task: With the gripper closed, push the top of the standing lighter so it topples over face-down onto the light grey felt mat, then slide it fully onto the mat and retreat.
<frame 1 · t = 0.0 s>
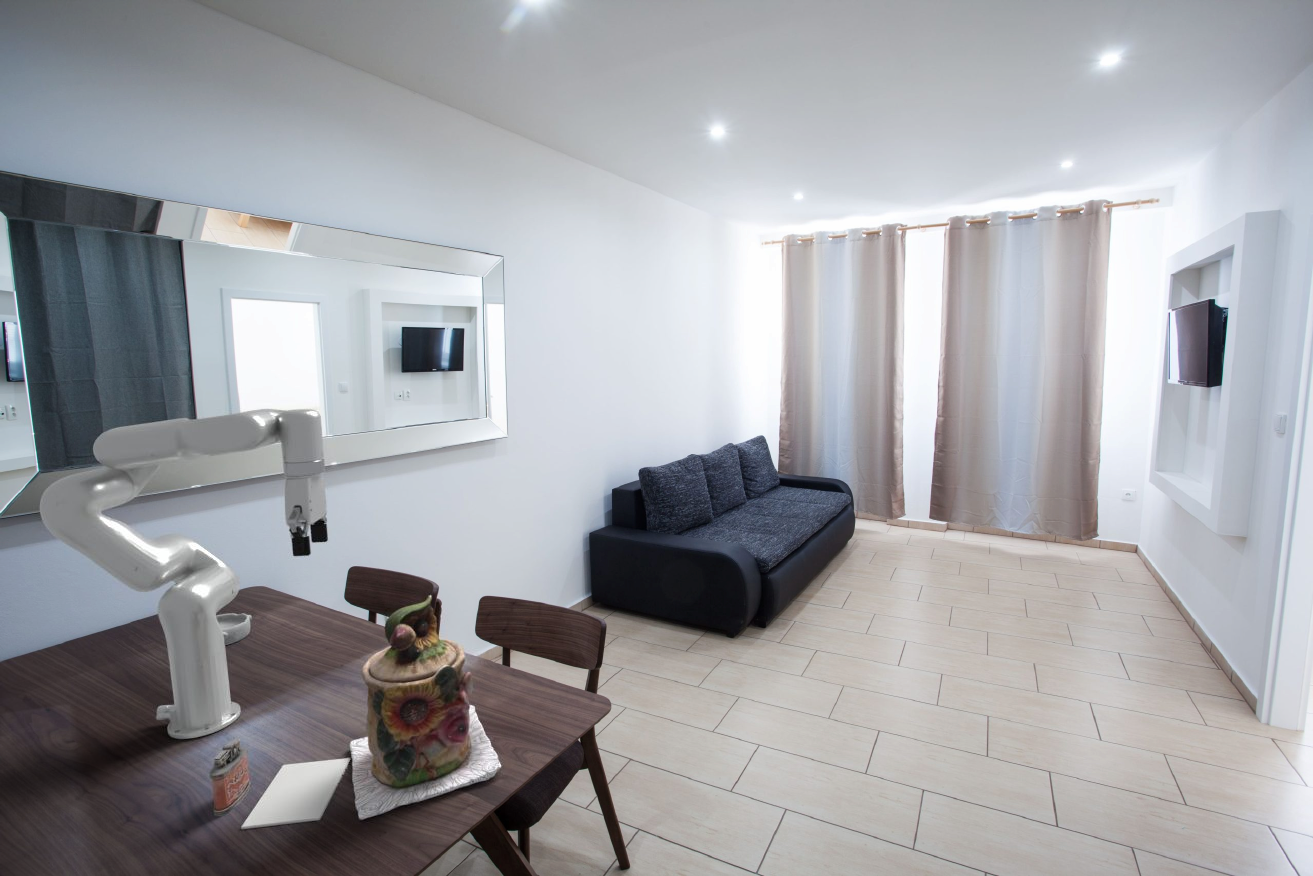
hand: (311, 548, 132), 37 cm above the table, tool pointing down, fingers open, 9 cm apart
lighter: (233, 800, 109), on the table
dish: (223, 638, 174), on the table
felt mat: (300, 791, 111), on the table
cookie jar: (423, 763, 119), on the table
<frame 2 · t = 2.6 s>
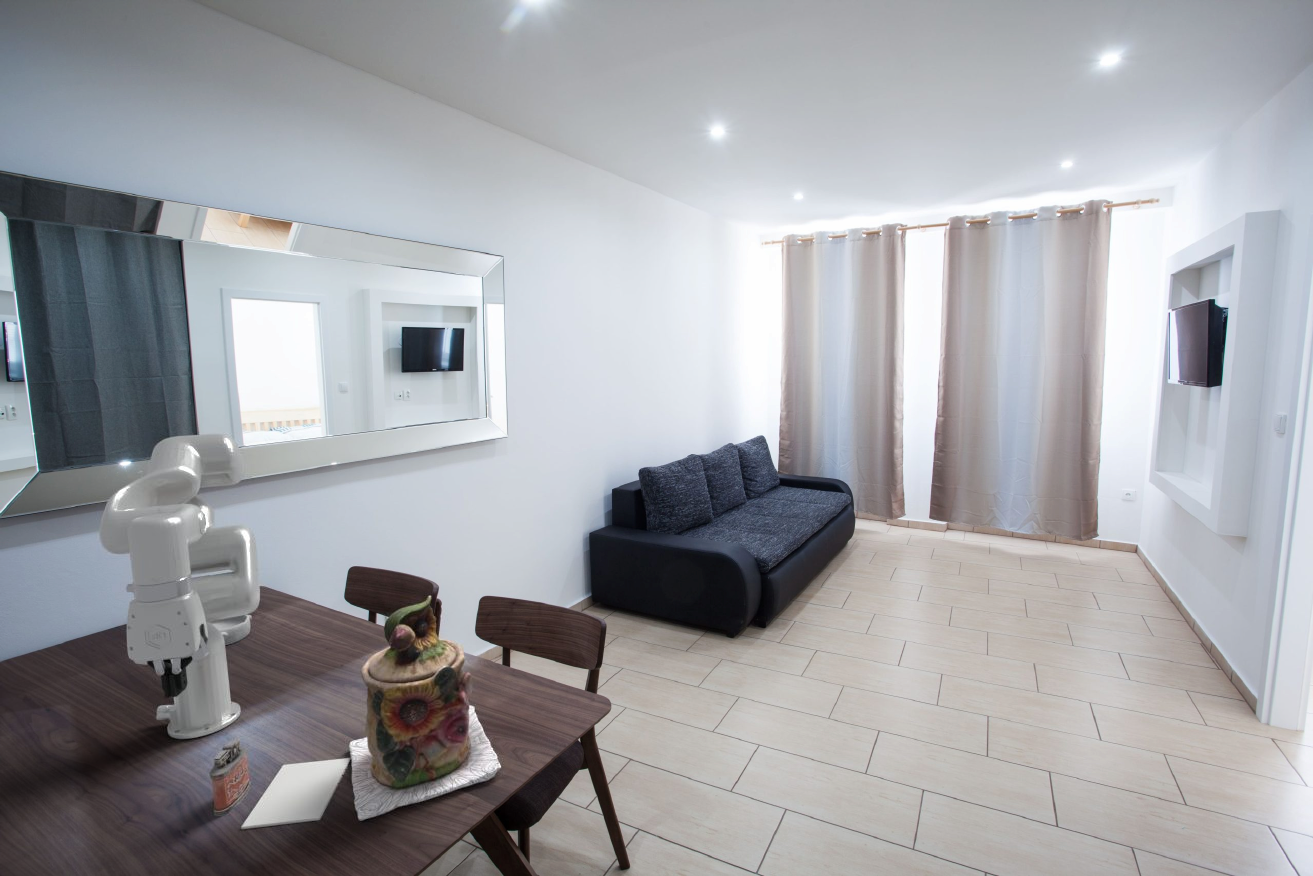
hand: (175, 693, 106), 21 cm above the table, tool pointing down, fingers closed
nothing on the table moved.
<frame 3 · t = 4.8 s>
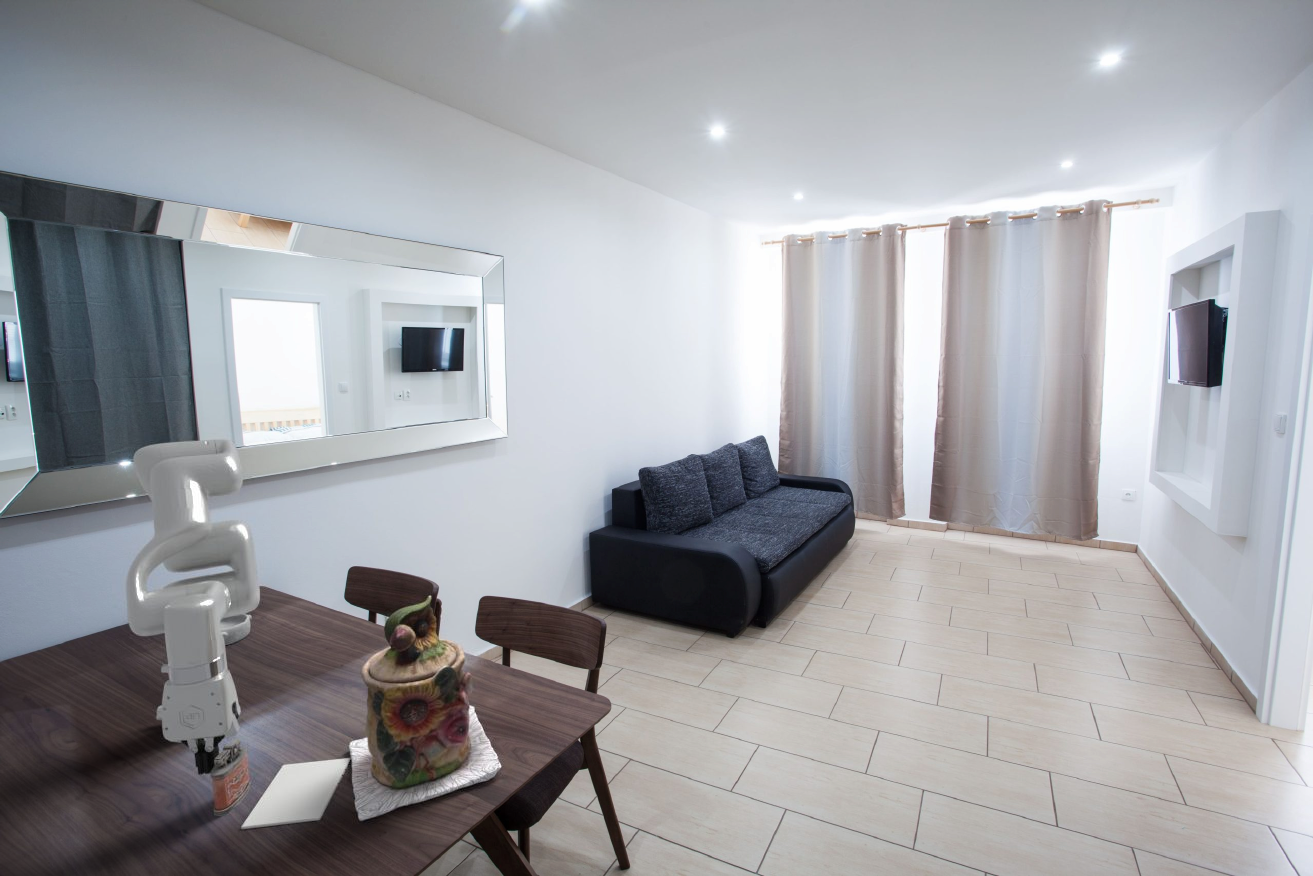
hand: (208, 769, 108), 6 cm above the table, tool pointing down, fingers closed
lighter: (233, 800, 109), on the table, touching gripper
everything else where it was.
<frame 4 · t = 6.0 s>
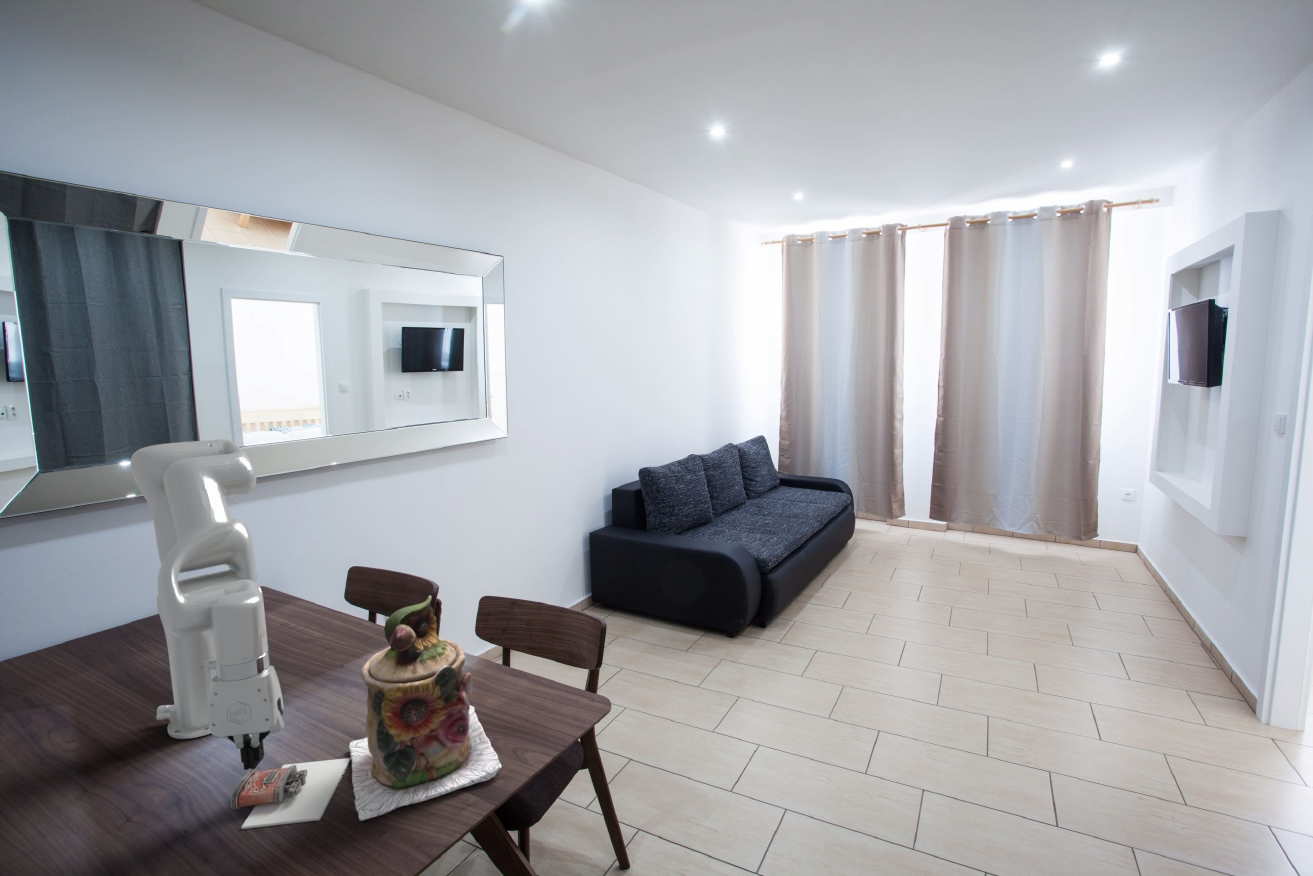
hand: (253, 764, 109), 6 cm above the table, tool pointing down, fingers closed
lighter: (240, 790, 109), point 2 cm above the table, touching felt mat
everything else where it was.
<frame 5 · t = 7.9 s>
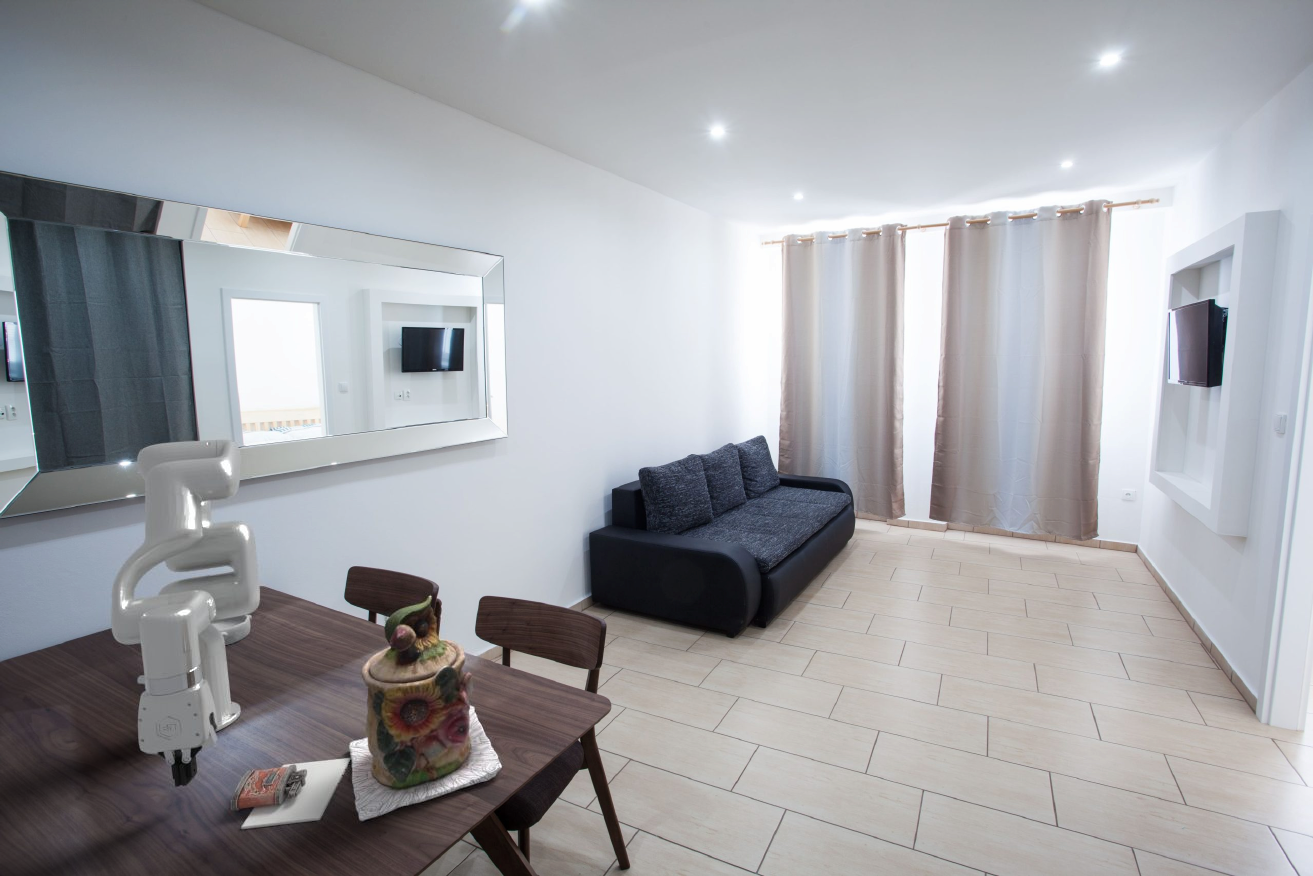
hand: (185, 781, 107), 5 cm above the table, tool pointing down, fingers closed
nothing on the table moved.
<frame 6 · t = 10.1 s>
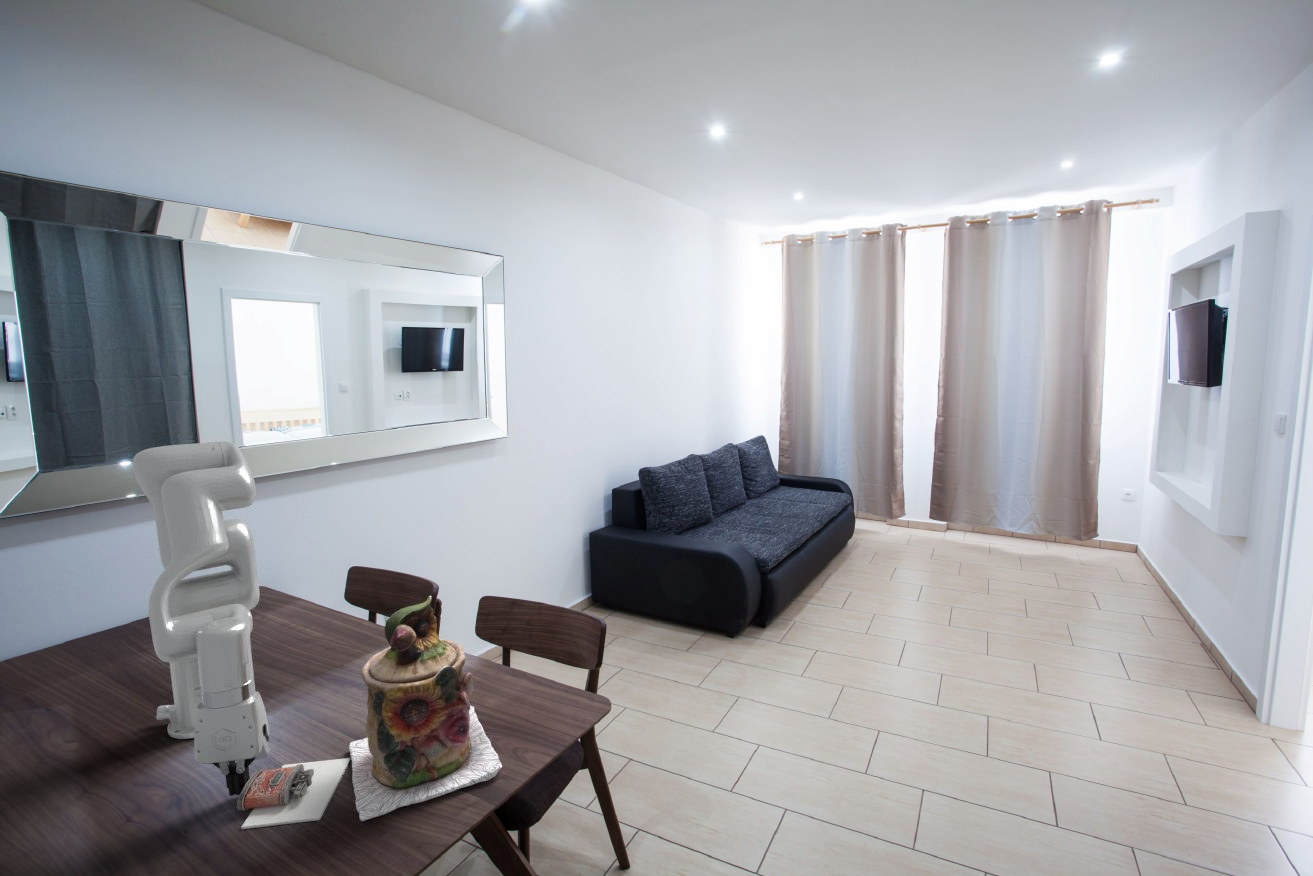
hand: (239, 790, 109), 2 cm above the table, tool pointing down, fingers closed
lighter: (247, 790, 109), point 2 cm above the table, touching felt mat, gripper
everything else where it was.
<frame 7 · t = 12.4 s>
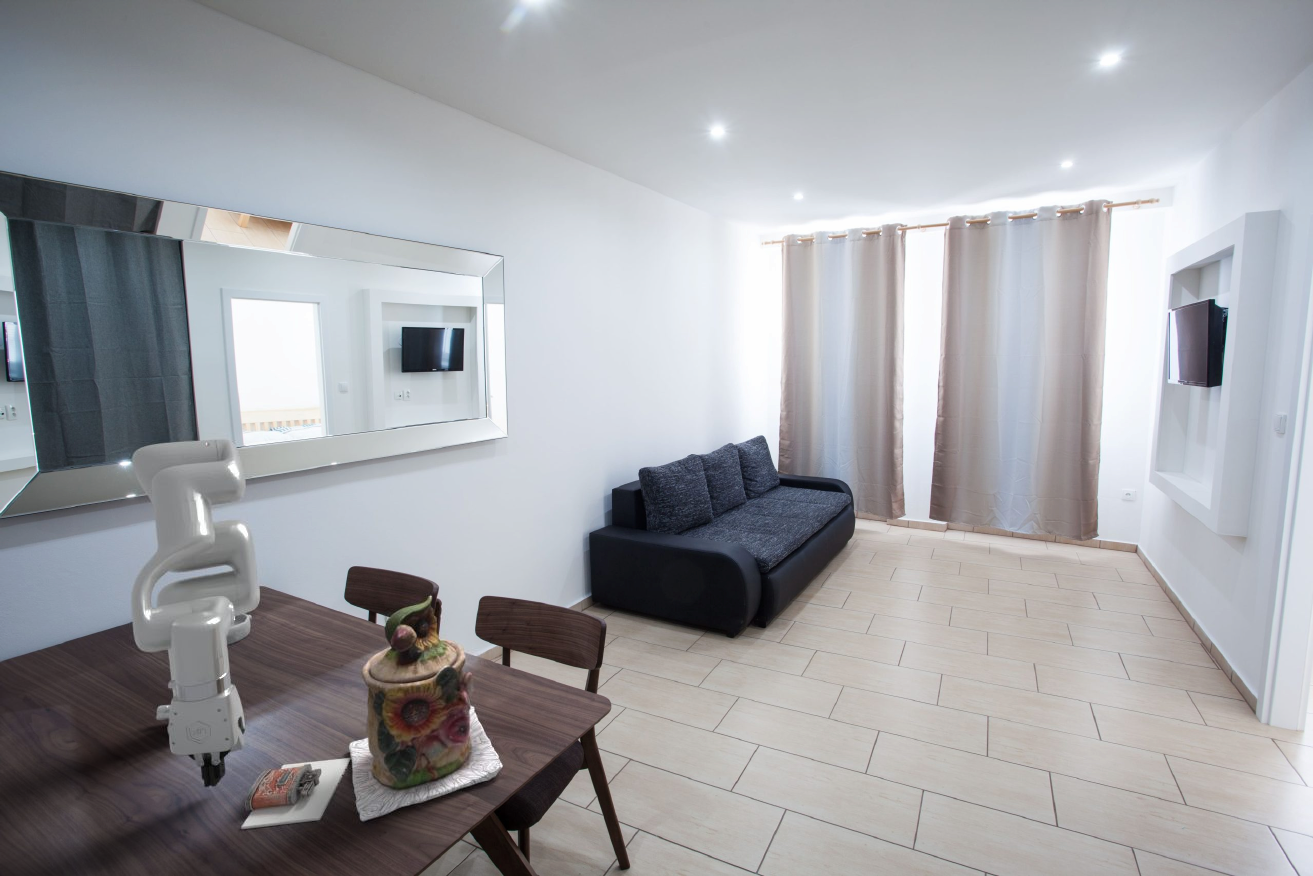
hand: (214, 781, 110), 3 cm above the table, tool pointing down, fingers closed
lighter: (256, 790, 109), point 2 cm above the table, touching felt mat
everything else where it was.
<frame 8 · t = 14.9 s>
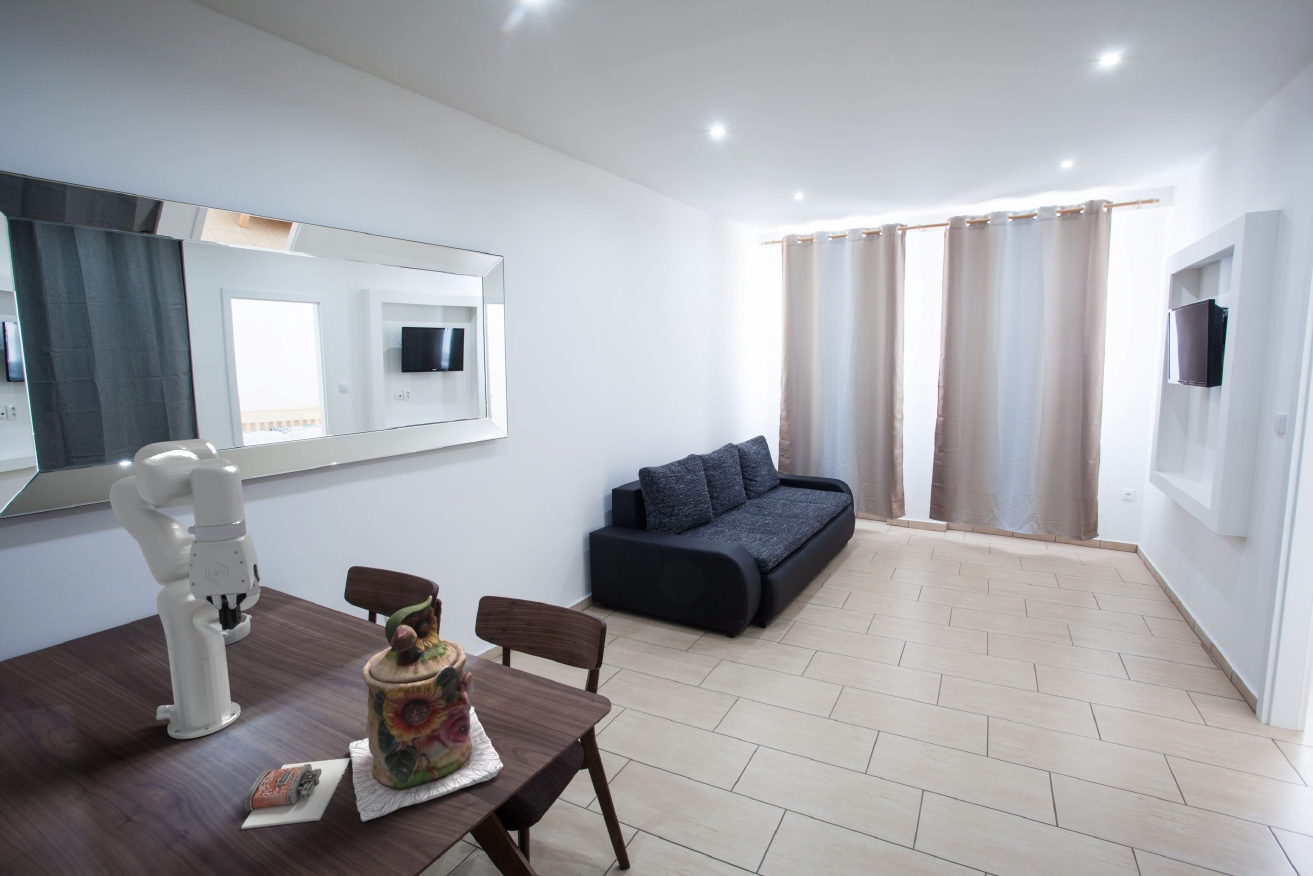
hand: (231, 626, 116), 27 cm above the table, tool pointing down, fingers closed
nothing on the table moved.
at the end: lighter tilted 86°; lighter inside the target area on the felt mat (6.8 cm from its centre), point 1.7 cm above the felt mat's base; lighter touching felt mat, table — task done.
